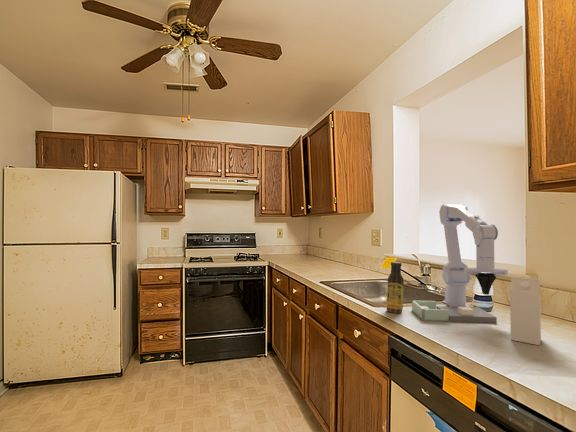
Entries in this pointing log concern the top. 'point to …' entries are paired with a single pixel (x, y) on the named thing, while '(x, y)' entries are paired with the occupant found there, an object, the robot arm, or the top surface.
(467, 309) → the tile
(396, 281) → the sauce bottle
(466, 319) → the board
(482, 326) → the top surface
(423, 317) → the tray
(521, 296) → the milk carton
